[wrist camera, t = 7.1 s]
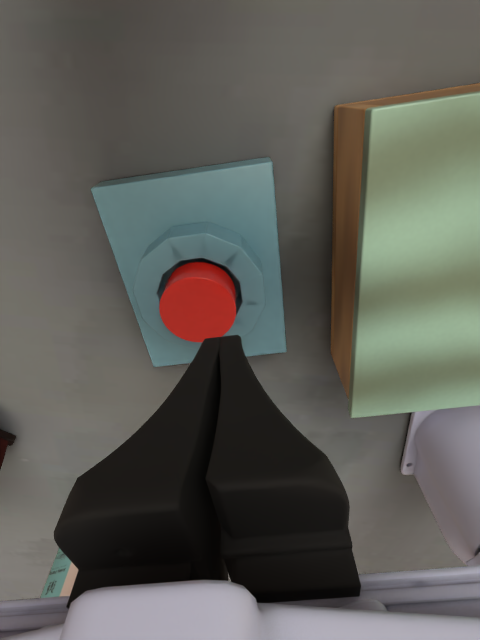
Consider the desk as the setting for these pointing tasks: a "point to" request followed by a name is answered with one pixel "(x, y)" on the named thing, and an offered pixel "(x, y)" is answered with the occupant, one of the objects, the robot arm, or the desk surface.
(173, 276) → the button
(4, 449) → the mate gourd
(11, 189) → the desk surface
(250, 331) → the block
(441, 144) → the lid
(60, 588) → the beer can
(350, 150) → the box
